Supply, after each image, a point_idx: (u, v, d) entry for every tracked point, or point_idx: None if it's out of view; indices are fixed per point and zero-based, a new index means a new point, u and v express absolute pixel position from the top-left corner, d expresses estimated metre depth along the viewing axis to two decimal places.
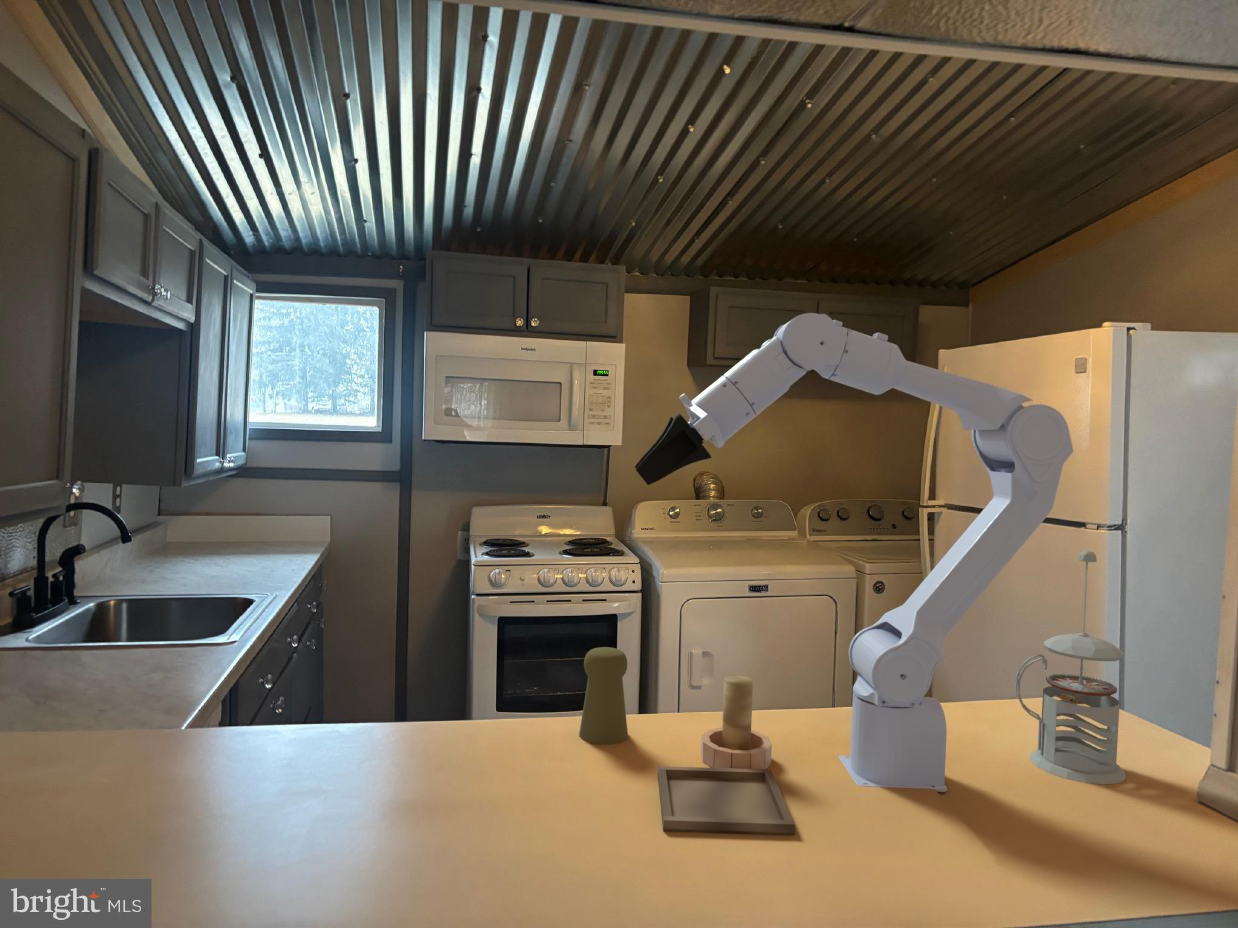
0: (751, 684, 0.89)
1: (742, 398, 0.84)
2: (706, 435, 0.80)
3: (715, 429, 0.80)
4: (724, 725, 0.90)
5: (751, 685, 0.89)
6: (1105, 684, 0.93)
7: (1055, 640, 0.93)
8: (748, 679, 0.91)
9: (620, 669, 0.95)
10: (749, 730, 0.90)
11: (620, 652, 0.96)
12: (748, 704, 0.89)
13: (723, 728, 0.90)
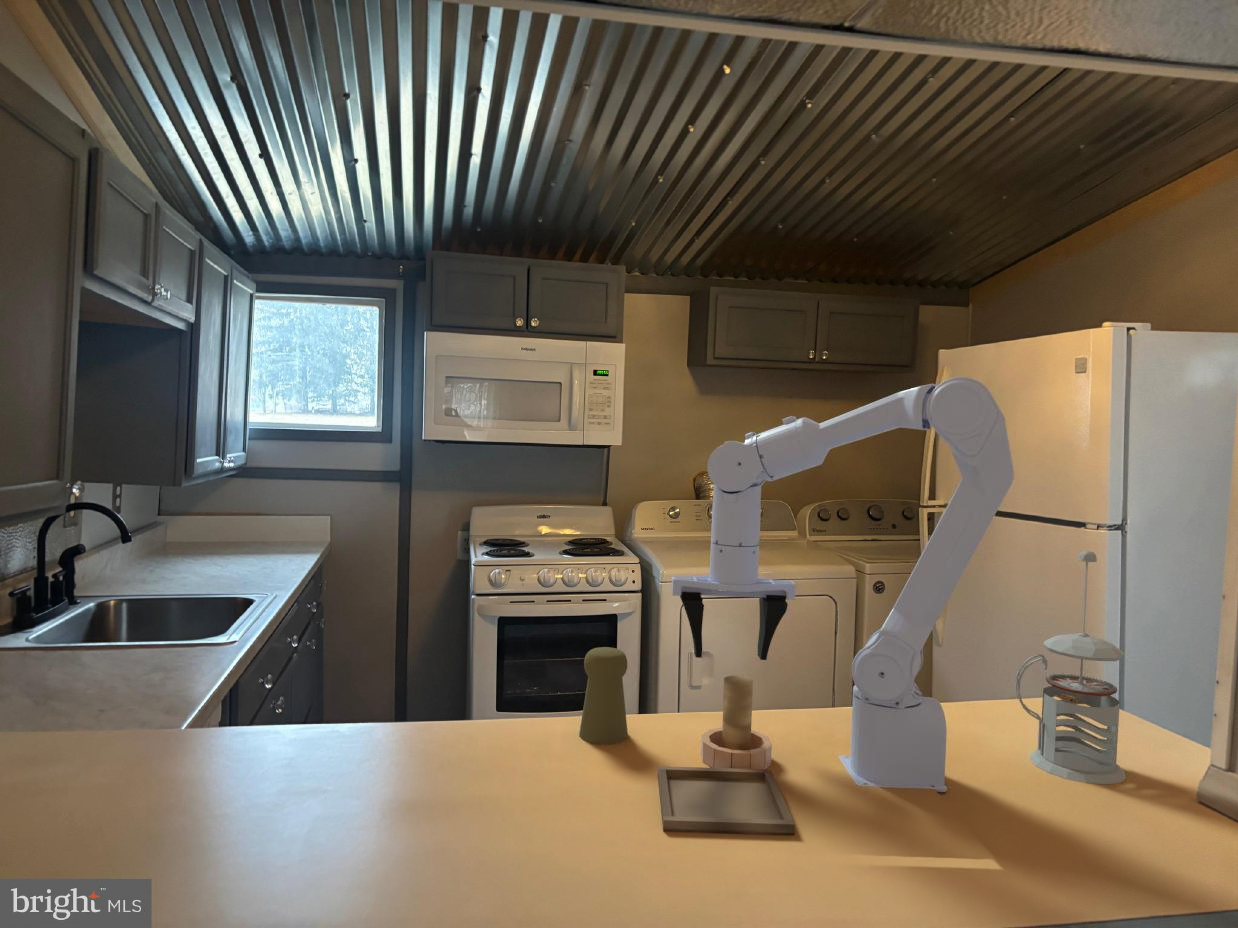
0: (751, 684, 0.89)
1: (711, 544, 0.95)
2: (672, 591, 0.95)
3: (672, 582, 0.95)
4: (724, 725, 0.90)
5: (751, 685, 0.89)
6: (1105, 684, 0.93)
7: (1055, 640, 0.93)
8: (748, 679, 0.91)
9: (620, 669, 0.95)
10: (749, 730, 0.90)
11: (620, 652, 0.96)
12: (748, 704, 0.89)
13: (723, 728, 0.90)
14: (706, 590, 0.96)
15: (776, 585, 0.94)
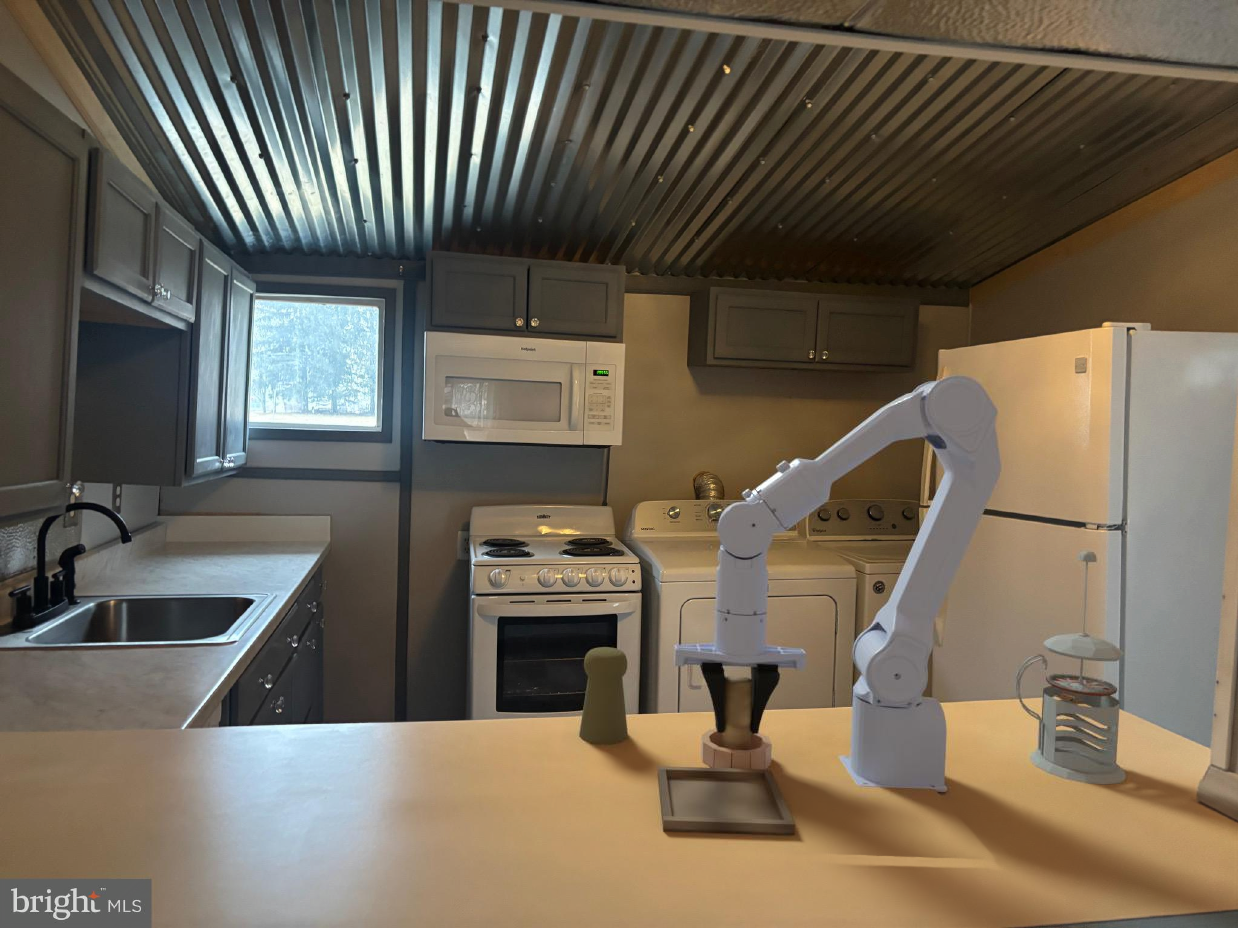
0: (751, 684, 0.89)
1: (716, 611, 0.90)
2: (674, 661, 0.90)
3: (675, 652, 0.90)
4: (724, 725, 0.90)
5: (751, 685, 0.89)
6: (1105, 684, 0.93)
7: (1055, 640, 0.93)
8: (748, 679, 0.91)
9: (620, 669, 0.95)
10: (749, 730, 0.90)
11: (620, 652, 0.96)
12: (748, 704, 0.89)
13: None
14: (711, 660, 0.90)
15: (785, 655, 0.89)
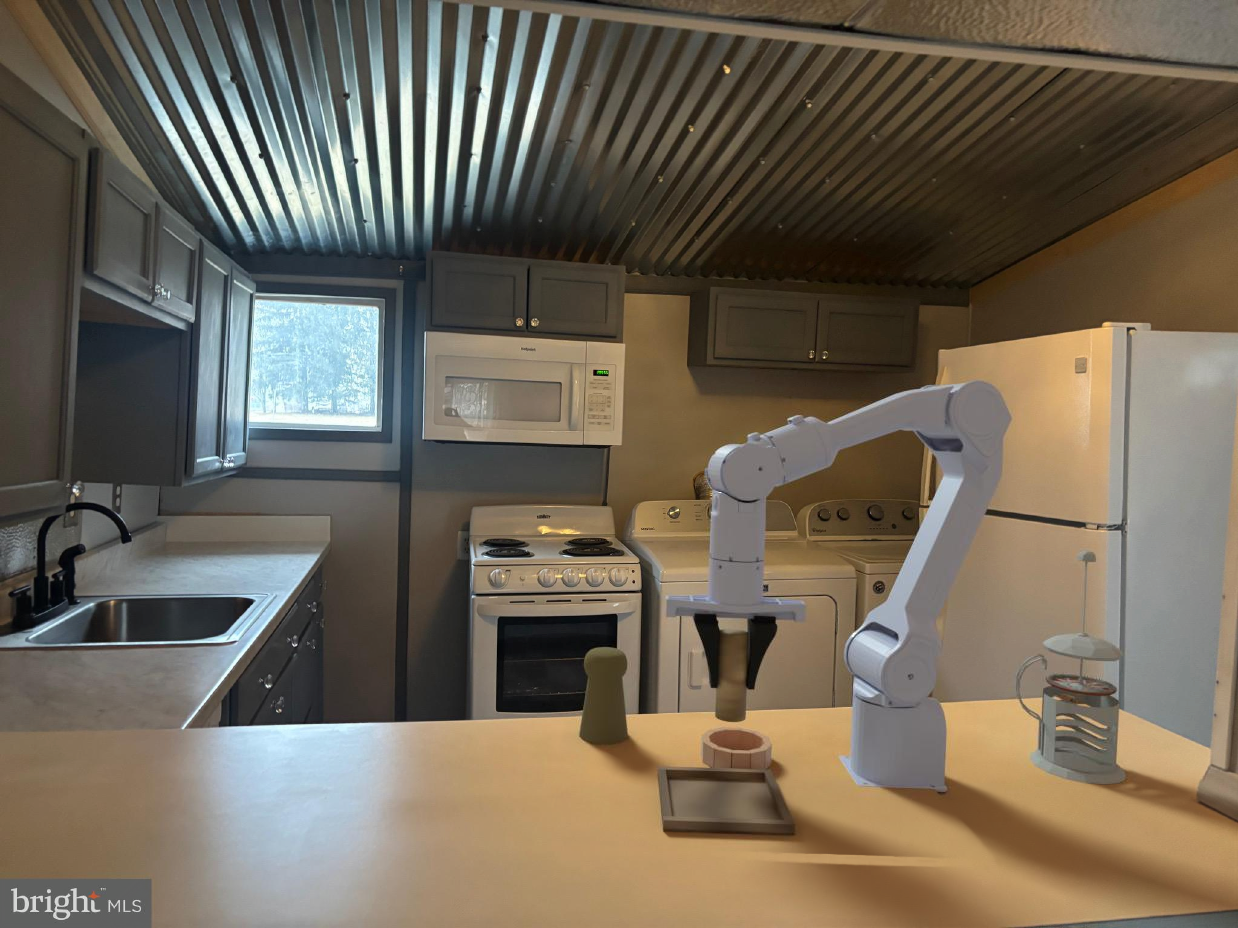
0: (747, 637, 0.84)
1: (709, 559, 0.85)
2: (665, 612, 0.85)
3: (666, 602, 0.84)
4: (718, 680, 0.85)
5: (747, 638, 0.84)
6: (1105, 684, 0.93)
7: (1055, 640, 0.93)
8: (744, 632, 0.85)
9: (620, 669, 0.95)
10: (744, 686, 0.84)
11: (620, 652, 0.96)
12: (743, 658, 0.84)
13: None
14: (704, 611, 0.85)
15: (783, 606, 0.83)
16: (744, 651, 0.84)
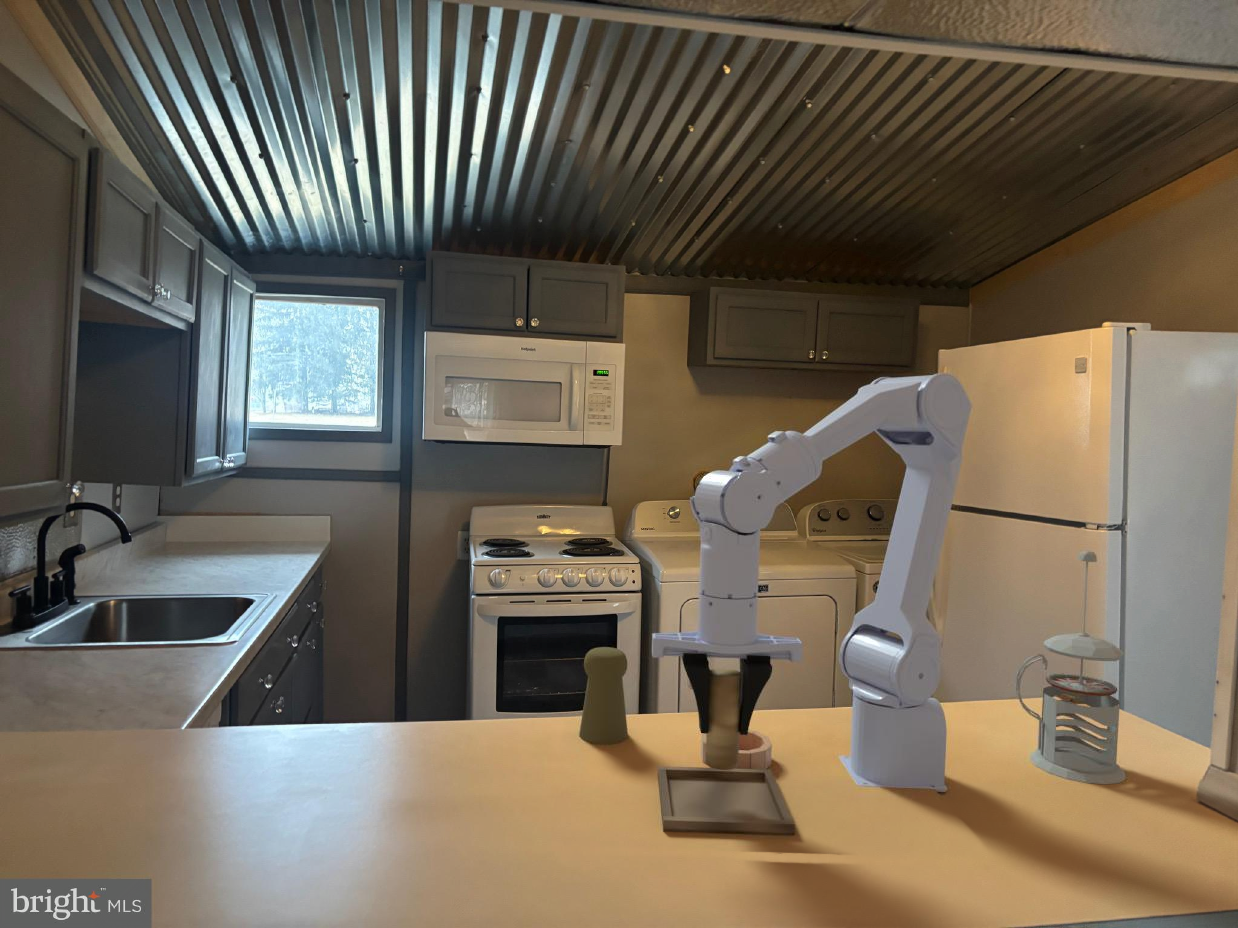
0: (739, 678, 0.78)
1: (699, 595, 0.79)
2: (652, 652, 0.79)
3: (652, 641, 0.78)
4: None
5: (739, 679, 0.78)
6: (1105, 684, 0.93)
7: (1055, 640, 0.93)
8: (736, 672, 0.80)
9: (620, 669, 0.95)
10: (737, 730, 0.79)
11: (620, 652, 0.96)
12: (735, 701, 0.78)
13: None
14: (693, 650, 0.79)
15: (778, 645, 0.78)
16: (736, 693, 0.78)
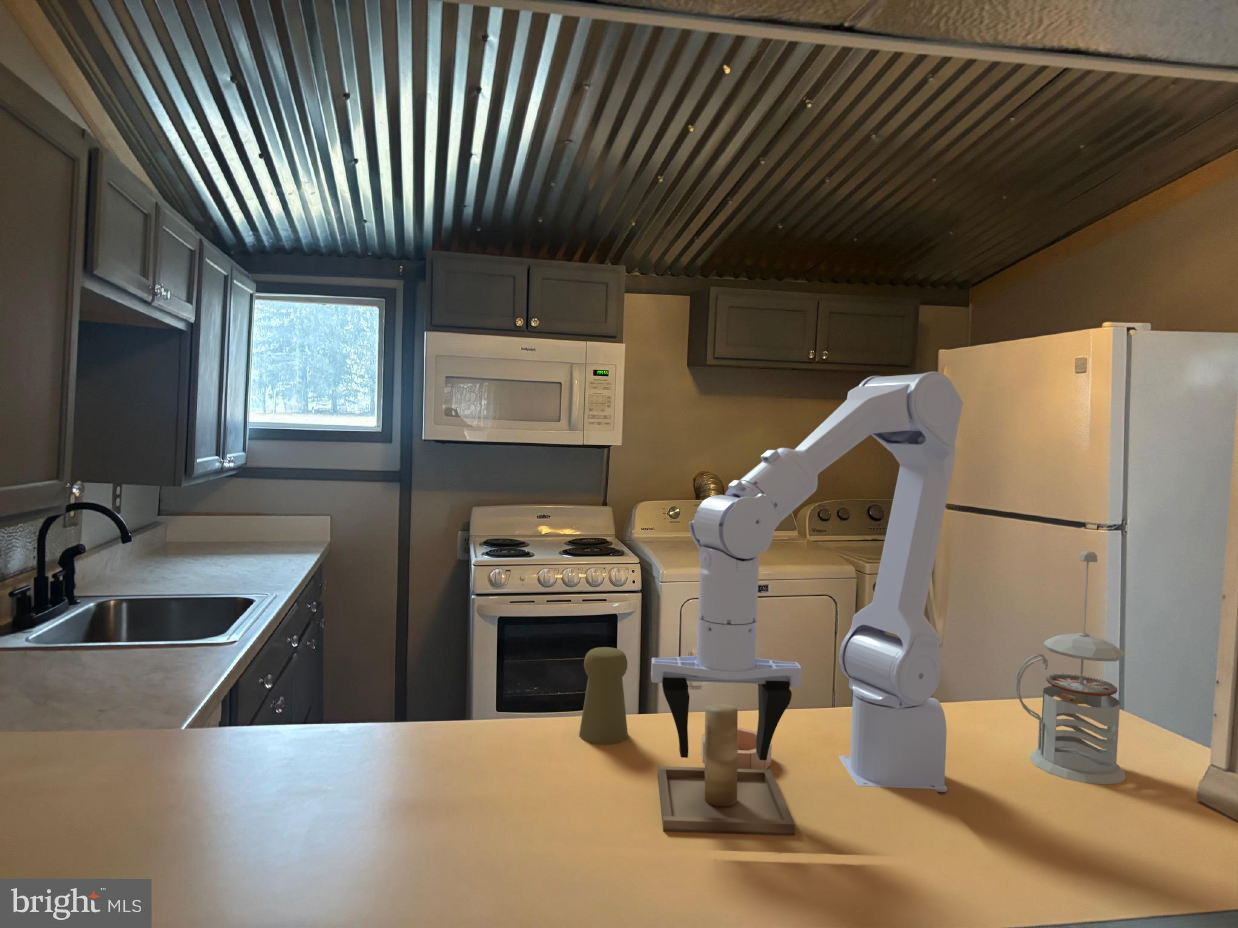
0: (735, 713, 0.79)
1: (698, 620, 0.79)
2: (651, 677, 0.79)
3: (652, 666, 0.78)
4: (706, 761, 0.79)
5: (735, 714, 0.79)
6: (1105, 684, 0.93)
7: (1055, 640, 0.93)
8: (732, 707, 0.80)
9: (620, 669, 0.95)
10: (735, 766, 0.79)
11: (620, 652, 0.96)
12: (732, 736, 0.79)
13: (705, 764, 0.79)
14: (693, 675, 0.79)
15: (778, 670, 0.78)
16: (733, 729, 0.79)
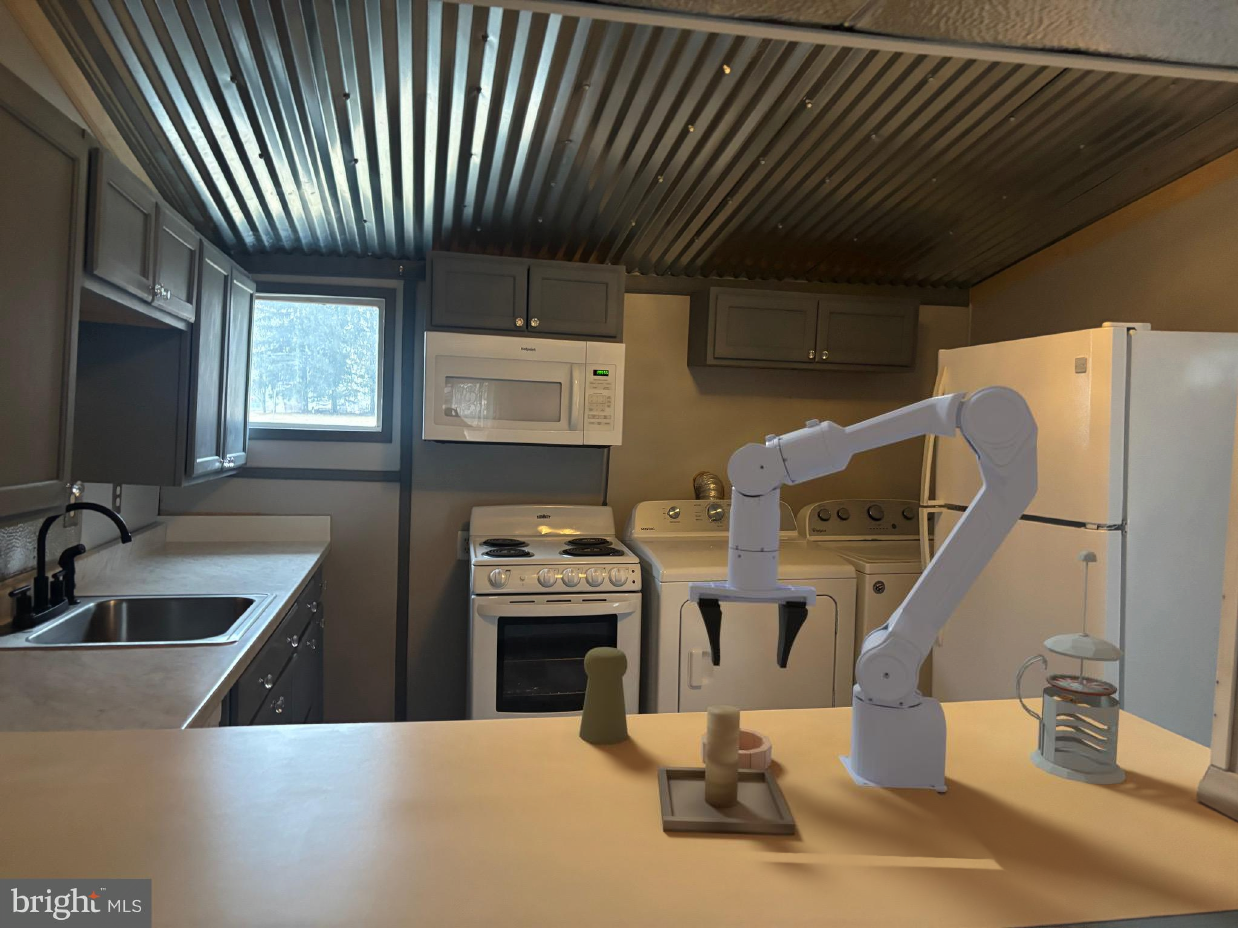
0: (738, 716, 0.79)
1: (729, 549, 0.93)
2: (689, 597, 0.93)
3: (689, 588, 0.93)
4: (707, 762, 0.79)
5: (738, 717, 0.79)
6: (1105, 684, 0.93)
7: (1055, 640, 0.93)
8: (735, 710, 0.80)
9: (620, 669, 0.95)
10: (736, 768, 0.79)
11: (620, 652, 0.96)
12: (734, 739, 0.78)
13: (706, 765, 0.79)
14: (724, 596, 0.93)
15: (796, 591, 0.92)
16: (735, 731, 0.78)
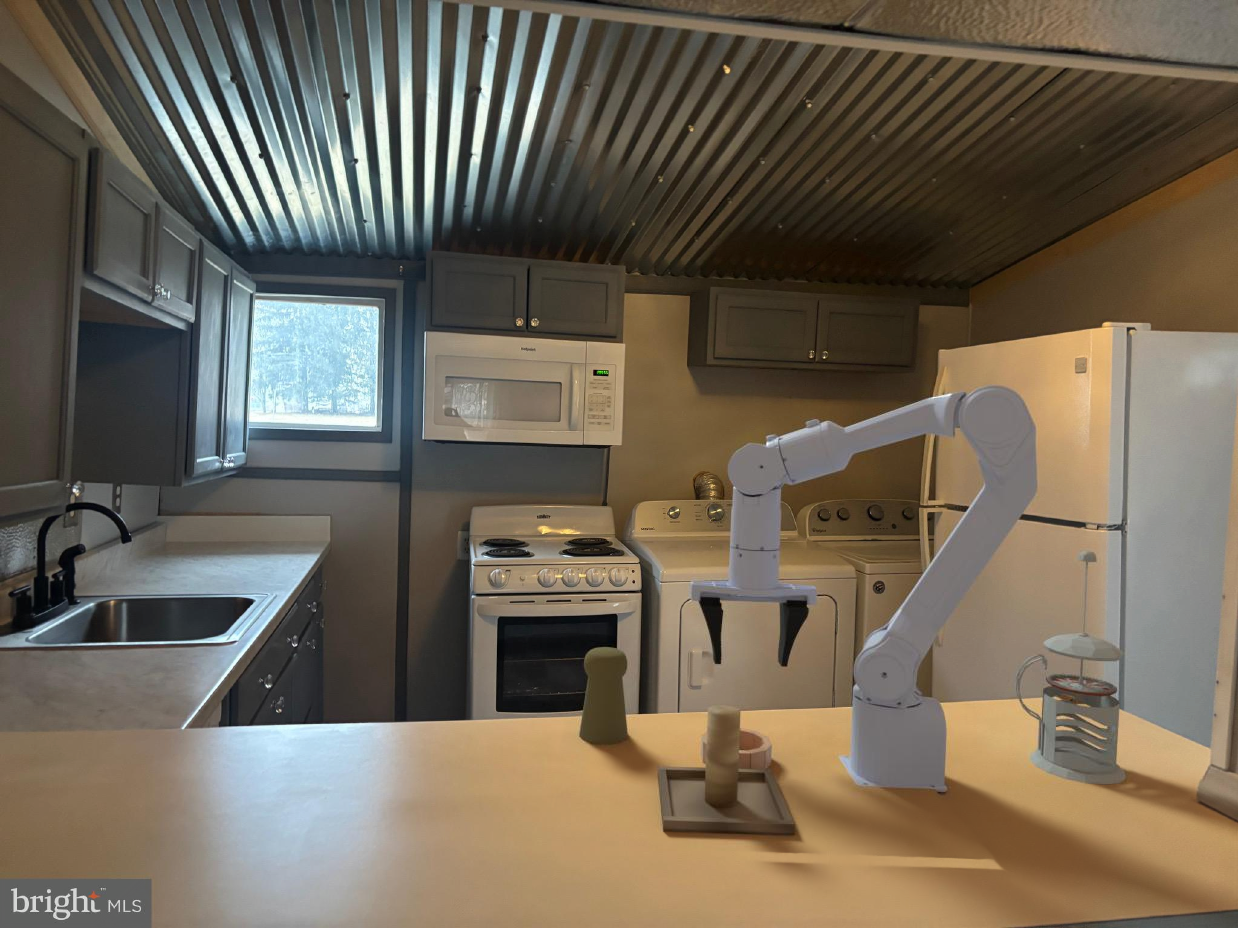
0: (738, 716, 0.78)
1: (730, 548, 0.94)
2: (690, 596, 0.94)
3: (691, 587, 0.93)
4: (707, 762, 0.79)
5: (738, 717, 0.79)
6: (1105, 684, 0.93)
7: (1055, 640, 0.93)
8: (735, 710, 0.80)
9: (620, 669, 0.95)
10: (736, 768, 0.79)
11: (620, 652, 0.96)
12: (734, 739, 0.78)
13: (706, 765, 0.79)
14: (725, 595, 0.94)
15: (797, 590, 0.92)
16: (735, 732, 0.78)
